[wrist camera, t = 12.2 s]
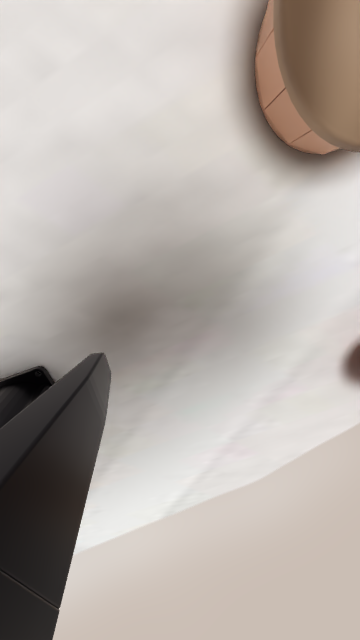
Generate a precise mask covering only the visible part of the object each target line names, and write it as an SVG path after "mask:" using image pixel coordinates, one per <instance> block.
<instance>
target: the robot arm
mask: <svg viewBox="0 0 360 640" xmlns="http://www.w3.org/2000/svg"><path fill="white" fill-rule="evenodd" d="M37 372H40V373H41V374H38V373H37ZM110 382H111V371H110V368H109V365H108V362H107V359H106V356H105V354H104V353H93V354H90V355H89V356H88V357H87V358H85V359H84V360H83V361H82V362H81V363H79V364H78V365H77V366H76V367H74V368H73V369H72V370H71V371H70V372H68V373H67V374H66V375H65V376H64V377H62V378H61V379H60V380H59V381H58V382H56V383H54V382H53V380H52V379H51V377H50V376H49V374H48V373H47V371H46V370H45V369H44V368H43V367H40V366H38V367H35V368H32V369H29V370H26V371H24V372H21V373H18V374H15V375H13V376H10V377H7V378H4V379H2V380H0V640H52V639H53V635H54V631H55V627H56V623H57V619H58V614H59V608H60V605H61V601H62V597H63V593H64V589H65V585H66V581H67V577H68V573H69V568H70V564H71V560H72V556H73V552H74V548H75V544H76V540H77V536H78V532H79V528H80V524H81V519H82V515H83V511H84V507H85V503H86V499H87V495H88V491H89V487H90V483H91V478H92V474H93V470H94V466H95V462H96V458H97V454H98V450H99V446H100V442H101V437H102V433H103V429H104V425H105V420H106V414H107V406H108V398H109V390H110Z"/></svg>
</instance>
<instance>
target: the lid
mask: <svg viewBox="0 0 360 640" xmlns="http://www.w3.org/2000/svg"><path fill="white" fill-rule="evenodd" d="M273 27H274V38H275V48H276V53H277V59H278V64H279V69H280V72H281V75H282V79H283V82H284V85H285V88H286V90H287V92H288V95H289V97H290V99H291V102H292V103H293V105H294V107H295V108H296V110H297V112H298V114H299V115H300V117H301V118H302V119H303V120H304V122H305V123H306V124H307V125H308V127H309V128H310V129H311V130H312V131H314V132H315V133H316V134H317V135H318V136H319V137H320V138H322V139H323V140H325V141H326V142H328V143H330V144H331V145H334V146H336V147H338V148H341V149H344V150H348V151H353V152H360V0H273Z"/></svg>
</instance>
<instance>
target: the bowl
mask: <svg viewBox="0 0 360 640" xmlns="http://www.w3.org/2000/svg"><path fill="white" fill-rule="evenodd" d="M255 80H256V89H257V93H258V98H259V102H260V105H261V108H262V111H263V113H264V116H265V118H266V120H267V122H268V123H269V125H270V127H271V128H272V130H273V131H274V132H275V133H276V135H277V136H278V137H279V138H280V139H281V140H282V141H284V142H285V143H286V144H287V145H289V146H291V147H292V148H294V149H296V150H299V151H301V152H305V153H310V154H322V155H324V154H326V153H329V152H332V151H335V150H338V149H340V148H338V147H336V146H334V145H331V144H330V143H328V142H326V141H325V140H323V139H322V138H320V137H319V136H318V135H317V134H316V133H315V132H314V131H312V130H311V129H310V128H309V127H308V125H307V124H306V123H305V122H304V120H303V119H302V118H301V117H300V115H299V114H298V112H297V110H296V108H295V107H294V105H293V103H292V102H291V99H290V97H289V95H288V92H287V90H286V88H285V85H284V82H283V79H282V75H281V72H280V69H279V64H278V59H277V53H276V48H275V38H274V27H273V0H269V1H268V6H267V10H266V13H265V16H264V18H263V21H262V24H261V28H260V32H259V35H258V41H257V47H256V56H255Z"/></svg>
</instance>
